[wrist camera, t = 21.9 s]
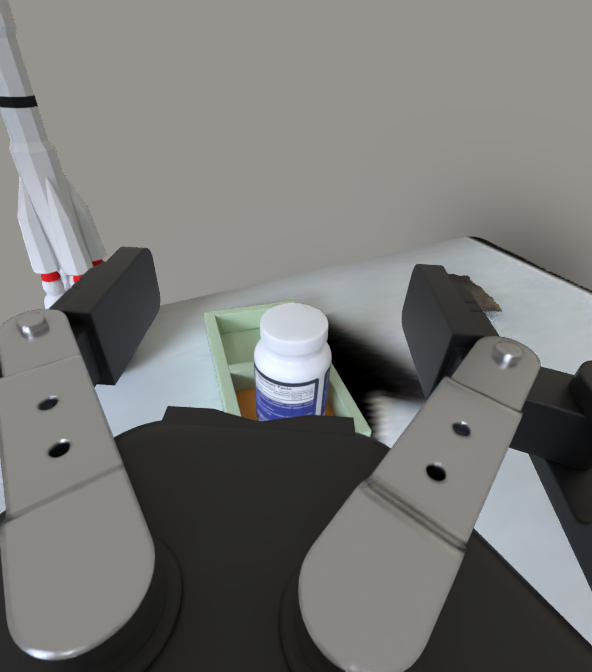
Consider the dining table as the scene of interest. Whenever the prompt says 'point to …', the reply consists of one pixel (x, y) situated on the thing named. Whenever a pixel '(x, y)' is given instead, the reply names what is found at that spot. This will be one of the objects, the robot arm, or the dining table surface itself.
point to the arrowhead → (477, 293)
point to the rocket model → (43, 181)
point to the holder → (238, 365)
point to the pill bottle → (292, 362)
